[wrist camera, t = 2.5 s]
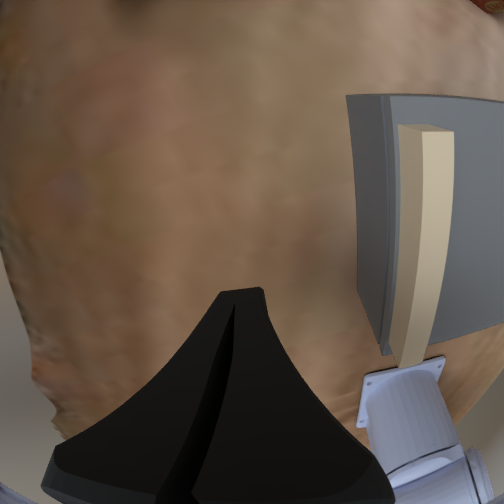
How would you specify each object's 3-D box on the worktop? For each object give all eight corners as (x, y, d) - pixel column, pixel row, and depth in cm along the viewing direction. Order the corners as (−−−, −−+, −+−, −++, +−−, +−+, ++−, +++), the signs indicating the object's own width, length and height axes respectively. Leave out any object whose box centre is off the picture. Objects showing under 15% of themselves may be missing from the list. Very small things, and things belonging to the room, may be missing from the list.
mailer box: (512, 259, 18) (547, 294, 13) (357, 289, 19) (378, 343, 15) (526, 105, 12) (577, 119, 8) (345, 95, 14) (380, 95, 9)
